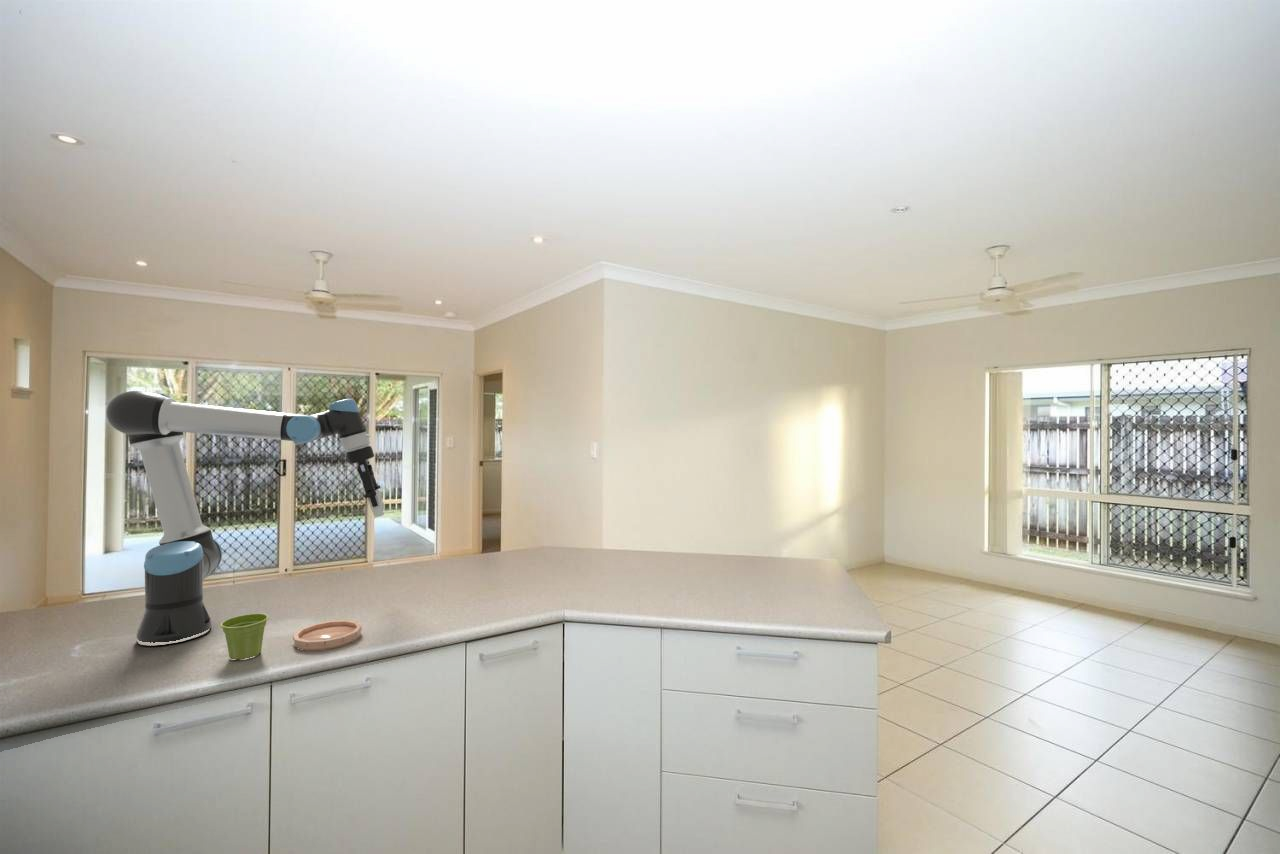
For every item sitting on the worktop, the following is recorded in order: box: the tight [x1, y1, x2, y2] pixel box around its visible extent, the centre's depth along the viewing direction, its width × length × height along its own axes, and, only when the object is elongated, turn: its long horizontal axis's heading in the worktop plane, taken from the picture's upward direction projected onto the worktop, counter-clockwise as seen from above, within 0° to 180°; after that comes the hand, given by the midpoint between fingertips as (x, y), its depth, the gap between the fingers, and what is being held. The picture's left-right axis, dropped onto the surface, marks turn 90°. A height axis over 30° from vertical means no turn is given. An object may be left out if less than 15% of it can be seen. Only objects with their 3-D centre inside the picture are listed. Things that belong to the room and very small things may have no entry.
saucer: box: [292, 619, 363, 652], centre depth 147 cm, size 15×15×2 cm
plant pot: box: [219, 613, 269, 659], centre depth 136 cm, size 9×9×9 cm
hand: (380, 513), depth 180 cm, fingers open, 13 cm apart
